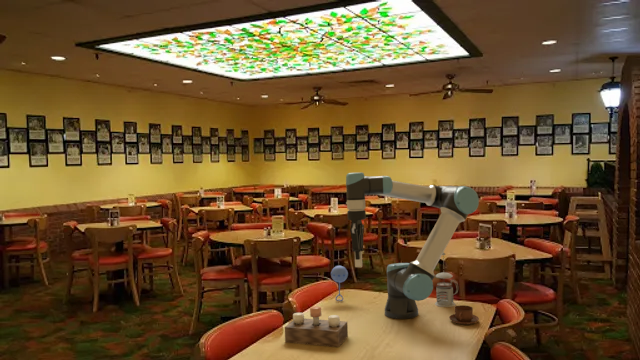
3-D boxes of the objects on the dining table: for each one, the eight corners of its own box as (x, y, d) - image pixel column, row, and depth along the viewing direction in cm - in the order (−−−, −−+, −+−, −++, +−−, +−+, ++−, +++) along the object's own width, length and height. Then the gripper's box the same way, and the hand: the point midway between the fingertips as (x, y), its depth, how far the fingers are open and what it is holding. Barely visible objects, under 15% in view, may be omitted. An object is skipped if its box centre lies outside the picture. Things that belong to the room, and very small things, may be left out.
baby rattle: (349, 298, 252) (347, 263, 252) (348, 303, 243) (347, 267, 243) (332, 298, 253) (331, 264, 253) (331, 303, 244) (329, 267, 244)
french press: (440, 300, 242) (438, 250, 242) (462, 303, 235) (460, 251, 234) (430, 305, 235) (429, 253, 234) (453, 308, 227) (452, 255, 227)
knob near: (341, 333, 192) (340, 315, 192) (338, 336, 188) (337, 318, 188) (331, 332, 194) (330, 314, 194) (327, 335, 190) (326, 318, 190)
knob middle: (323, 324, 195) (322, 306, 195) (319, 327, 191) (318, 309, 191) (313, 323, 197) (312, 306, 196) (309, 326, 192) (308, 309, 192)
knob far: (306, 330, 198) (305, 313, 198) (302, 333, 194) (301, 316, 193) (296, 329, 199) (295, 312, 199) (291, 332, 195) (291, 315, 195)
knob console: (347, 336, 196) (347, 321, 196) (338, 347, 184) (337, 331, 184) (297, 332, 203) (296, 317, 203) (285, 342, 192) (284, 327, 192)
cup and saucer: (480, 327, 201) (479, 312, 201) (450, 326, 204) (449, 311, 203) (477, 318, 213) (476, 304, 213) (448, 317, 215) (448, 303, 215)
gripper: (352, 208, 209) (354, 263, 210) (342, 211, 197) (345, 269, 198) (369, 208, 207) (371, 263, 207) (360, 211, 194) (363, 270, 195)
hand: (358, 266), depth 202 cm, fingers closed
